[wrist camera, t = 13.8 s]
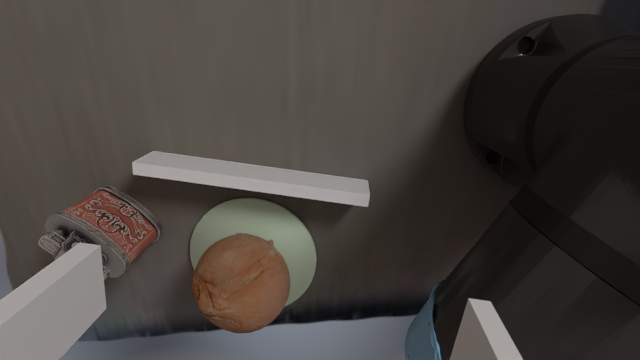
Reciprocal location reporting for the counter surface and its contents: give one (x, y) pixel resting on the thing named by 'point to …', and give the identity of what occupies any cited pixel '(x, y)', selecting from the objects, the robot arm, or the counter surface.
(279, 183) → the low wall
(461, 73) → the counter surface
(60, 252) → the lighter
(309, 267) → the pad
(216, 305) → the onion
